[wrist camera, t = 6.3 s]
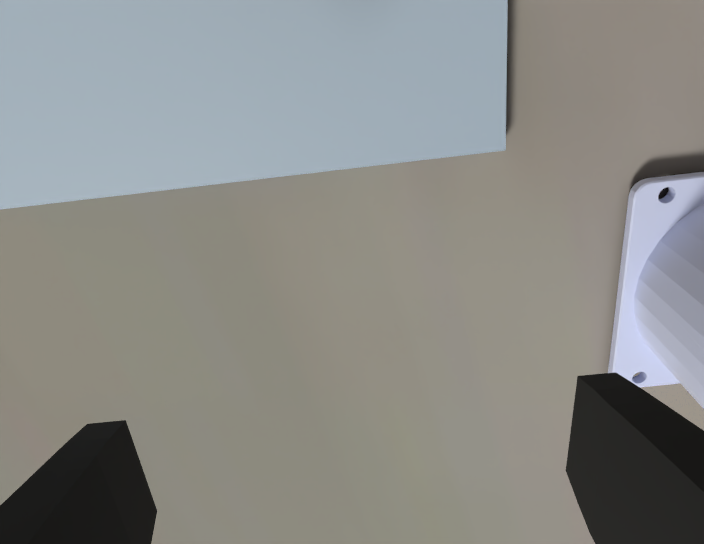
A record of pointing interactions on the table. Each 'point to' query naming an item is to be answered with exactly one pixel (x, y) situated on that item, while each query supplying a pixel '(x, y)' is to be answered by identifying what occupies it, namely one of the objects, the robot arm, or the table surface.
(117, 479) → the robot arm
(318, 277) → the table surface
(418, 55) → the board
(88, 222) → the table surface
